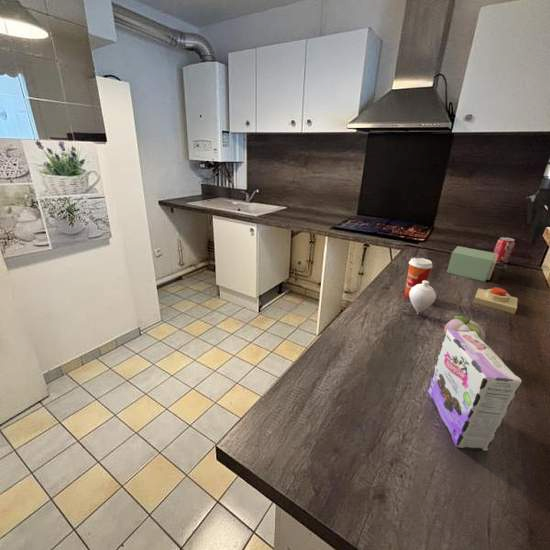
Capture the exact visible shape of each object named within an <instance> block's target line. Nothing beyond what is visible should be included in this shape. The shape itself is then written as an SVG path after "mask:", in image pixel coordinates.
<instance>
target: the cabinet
mask: <svg viewBox="0 0 550 550" xmlns="http://www.w3.org/2000/svg"><path fill="white" fill-rule="evenodd" d="M494 255H495V253H493V252H492V251H486V250H480V249H475V248H470V247H464V246H459V245H458V246H456V247H455V248H454V250H453V251H452V252H451V256H450V259H449V263H448V266H447V270H446V273H447V274H451V275H455V276H459V277H464V278H468V279H472V280H476V281H481V282H484V283H485V282H486V281H487V279H486V278H487V275H488V272H489V269H490V267H491V264H492V261H493V258H494Z"/></svg>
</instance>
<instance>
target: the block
mask: <svg viewBox="0 0 550 550" xmlns="http://www.w3.org/2000/svg"><path fill="white" fill-rule="evenodd" d="M491 291H492V288H488V289H487V288H486V289H483V288H479V287H478V288H477V291H476V294H475V296H474V299H473V302H472V303H473V304H477V305H481V306H484V307H488V308H491V309H495V310H497V311H498V310H499V311H502V312H506V313H510V314H513V315H515V314H516V312H517V310H518V301H519V299H518V297H515V296H511V295H510V293H508V292H506V294H505V296H498V295H495V294H493V293H491Z"/></svg>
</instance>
